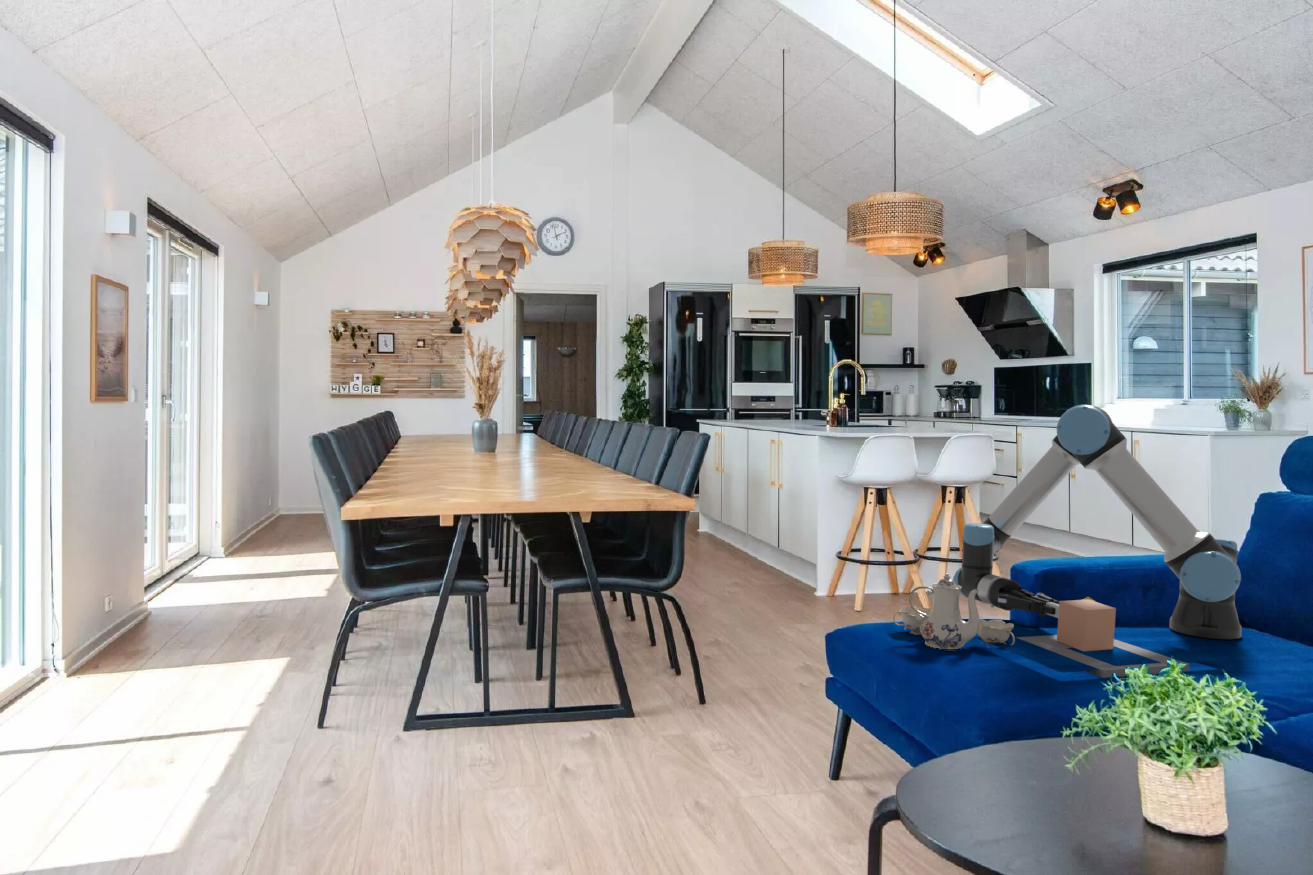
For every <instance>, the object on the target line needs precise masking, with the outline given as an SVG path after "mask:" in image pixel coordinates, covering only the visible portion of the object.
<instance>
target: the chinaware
mask: <svg viewBox="0 0 1313 875" xmlns="http://www.w3.org/2000/svg"><path fill="white" fill-rule="evenodd" d="M931 586H932V587H930V586H925V585H923V586H922V585H920V586H917V587H915V588H913V589H912V590H911V591H910V592H909V596H908V602H909V603H908V604H909V605H910V606H907V607H906V608H902V607H900V608H898V611H897V612H896V613H894V614H893V615H892V616H893V617H892V621H893V623H894V625H896V626H904V628H903V629H904V630H905V631H906V630H908V629H909V630H910V632H909V634H913V635H915V636H916V635H919V636H920V635H921V636H922V638H923V639H924V641H925V642H924V645H926V646H927V647H929V646H930V647H929V648H932V647H933V649H936V648H939V649H938V650H941V649H958V648H961V647H963V646H964V645H965V644H967V643H968V642H969V641H971V640H972V639H973V638H974V637H976V636H977V635H978V637H979V639H980V640H981V641H982V642H984V643H985V644H987V645H988V646H998V645H997V643H998V644H1002V643H1003V644H1005V645H1007V642H1006V641H1008V639H1009V637H1010V635H1011V636H1012V637H1011V638H1012V642H1011V644H1010V646H1013V645H1014V644H1015V642H1016V637H1015V635H1014V633H1013V632H1012V630H1013V629H1014V627H1015V625H1014V623H1011V622H1009V623H1006V622H1004V621H1003V620H1000V619H998V618H997V619H996V618H995V619H990V620H987V619H983V618H980V614H979V613H980V612H979V611H978V607H977V606H978V605H977V602H976V600H975V595H976V593H977V592H978V591H979V590H978V589H974V590H972V591H971V592H970V593H969V596H968V597H967V609H968V621H965V620H963V619H962V614H961V610H960V595H961V594H960V590H961V588H962V587H961V586H960V585H956V584H955V582H954V581H953V579H951V576H950V574H949V573H945V574H944V576H943V578H941V579H939V581H938V582H934V583H931ZM920 589H921V590H922V589H928V590H927V591H926V592H925V593H926V595H927V596H931V595H932V594H933V597H932V598H933V600H932V606H931V607H930V608H922V609H921V608H918V607H916V606H915V605H914V604H913V594H914V593H916V591H918V590H920ZM897 614H898V615H899V616H901V618H902V622H903V624H902V623H901V624H899V623H897V621H895V616H896V615H897ZM994 643H995V644H994Z"/></svg>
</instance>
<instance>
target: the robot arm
mask: <svg viewBox="0 0 1313 875" xmlns="http://www.w3.org/2000/svg"><path fill="white" fill-rule="evenodd" d="M1127 441H1128V439H1127V438H1126V436H1125V435H1124V434H1123V433H1122V432H1121V431H1120V429H1119V428H1118V427H1117V426H1116V425H1115V423H1114V422H1113V421H1112V418H1111V416H1110V415H1109V414H1108V412H1107V411H1105V410H1104V409H1102V408H1100V407H1098V406H1095V405H1092V404H1078V405H1074V406H1072V407H1070V408H1068V409H1067V410H1066V411H1065V412H1063V414H1061V416H1060V417H1059V419H1058V421H1057V425H1056V435H1055V436H1054V437H1053V439H1052V440H1051V443H1052V444H1051V447H1050V448H1049V449H1048V450H1047V452H1045V453H1044V455H1043V456H1042V457H1041V458H1040V459H1039V460H1038V461H1037V463H1036V464H1035V465H1034V466H1033V467H1032V468H1031V469H1030V470H1029V471H1028V473H1027V474H1026V475H1025V476H1024V477H1023V478H1022V480H1021V481H1020V482H1018V483H1017V485H1016V486H1015V488H1014V489H1012V491H1011V492H1009V494H1008V495H1007V496H1006V497H1005V499H1003V501H1001V503H1000V504H998V506H997V508H995V509H994V511H992V513H991V514H990V515H989V516H988V517H987V519H985V520H984V522H983V523H979V522H977V523H976V522H974V523H973V522H971V523H966V524H965V525H964V527H963V535H962V562H961V568H958V569H956V571H955V574H954V576H953V578H952V580H953V581H954V582H955V584H956V585H960V586H961V587H962V588H961V590H960V594H959V595H962V596H964V597H966V598H968V596H969V593H970V592H971V591H972V590H974V589H978V590H979V591H978V592H977V593H976V595H975V601H979V602H980V603H981V602H982V603H984V604H987V605H989V606H990V608H998V609H1001V610H1004V611H1010V612H1011V611H1014V610H1015V609H1016V610H1020V611H1024V612H1027V613H1028V612H1029V613H1031V614H1036V613H1039V614H1038V615H1039V617H1042V618H1043V617H1045V615H1047V616H1050V617H1054V618H1057V619H1058V615H1059V601H1060V600H1057V599H1054V598H1052V597H1050V596H1048V595H1046V594H1044V593H1043V592H1037V593H1036V594H1035V593H1033V592H1030V591H1028V590H1026V589H1022V586H1021V585H1020V583H1018V582H1017V581H1016V580H1012V579H1009V578H1006V577H1003V576H1000V575H996V574H993V569H994V568H993V567H994V565H993V561H994V554H996V553H999V551H1000V550H1001V549H1002V548H1003V546H1004V545H1005V544H1006V542H1007V541H1008V540H1009V539H1010V538H1011V537H1012V536H1013V535H1014V534H1015V533H1016V531H1018V529H1019V528H1020V527H1021V526H1022V525H1023V524H1024V523H1025V522H1026V520H1027V519H1028V518H1030V516H1031V515H1032V514H1033V513H1034V512H1035V511H1036V510H1037V509H1038V508H1039V506H1041V505H1042V503H1043V502H1044V501H1045V500H1046V499H1047V498H1048V497H1049V495H1050V494H1051V493H1052V492H1053V491H1054V490H1055V489H1056V488H1057V487H1059V485H1060V484H1061V482H1062V481H1063V480H1064V479H1065V478H1066V477H1067V476H1068V475H1069V474H1070V473H1071V472H1072V471H1073V469H1075V468H1076V466H1079V465H1081V466H1082V467H1083V468H1084V469H1085V470H1093V471H1095V472H1096V473H1097V475H1098V476H1100V478H1101V479H1102V480H1103V481H1104V482H1105V484H1106V485H1107V486H1108V487H1109V488H1110V489H1111V490H1112V492H1113V493H1114V494H1115V495H1116V496H1117V497H1118V499H1119V500H1120V501H1121V502H1122V504H1123V505H1124V506H1125V507H1126V509H1128V510H1129V511H1130V512H1131V514H1132V515H1133V516H1134V517H1135V519H1136V520H1137V521H1138V522H1139V524H1140V525H1141V526H1143V528H1144V529H1145V530H1146V531H1147V532H1148V533H1149V535H1150V536H1151V537H1152V539H1153V540H1154V541H1156V543H1157V544H1158V546H1160V548H1161V549H1162V550H1163V551H1164V557H1163V558H1164V559H1163V561H1164V563H1165V564H1166V565H1167V566H1168V568H1169V569H1170V570H1171V571H1172V572H1173V574H1175V576H1176V577H1177V578H1178V579H1179V595H1178V599H1177V602H1176V605H1175V606H1174V609H1173V612H1172V615H1171V616H1170V618H1169V626H1168V627H1169V629H1170V630H1172V631H1174V632H1176V633H1180V634H1183V635H1188V636H1193V637H1197V638H1204V639H1210V640H1211V639H1212V640H1237V639H1240V638H1242V632H1243V628H1242V625H1241V623H1240V621H1239V616H1238V612H1237V608H1236V603H1235V600H1236V592H1237V590H1238V589H1239V586H1240V584H1241V580H1242V574H1241V570H1240V567H1239V565H1238V564H1237V563H1238V555H1239V550H1238V543H1237V542H1236V541H1235V540H1231V539H1229V540H1228V539H1221V538H1219V539H1218V538H1215V537H1214V536H1213V535H1212V534H1211V533H1210V532H1209V531H1204V530H1199V529H1197V527H1196V526H1195V525H1194V524H1193V523H1192V522H1191V521H1190V519H1188V517H1187V516H1186V515H1185V513H1183V511H1182V510H1181V509H1180V508H1179V507H1178V506H1177V505H1176V504H1175V502H1173V500H1172V499H1171V498H1170V497H1169V495H1167V493H1166V492H1165V490H1163V489H1162V487H1161V486H1160V485H1159V484H1158V483H1157V482H1156V480H1154V479H1153V477H1152V476H1151V475H1150V474H1149V473H1148V472H1147V471H1146V469H1145V468H1144V467H1143V466H1142V465H1141V464H1140V463H1139V462H1138V460H1137V459H1136V458H1135V456H1134V455H1132V453H1131V452H1130V451H1129V450H1128V449H1127V445H1128V444H1127V443H1128V442H1127Z"/></svg>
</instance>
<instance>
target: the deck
mask: <svg viewBox="0 0 1313 875" xmlns="http://www.w3.org/2000/svg"><path fill="white" fill-rule="evenodd" d="M1016 638H1017V639H1018V640H1021V641H1023V642H1025V643H1029V644H1031V645H1033V646H1037V647H1039V648H1042V649H1044V650H1047V651H1050V652H1053V653H1055V654H1058V655H1060V656H1063V657H1066V658H1068V659H1071V660H1073V661H1077V662H1079V663H1082V664H1084V665H1086V666H1090V667H1092V668H1094V669H1088V670H1087V669H1085V670H1083V671H1084V672H1086V673H1089V674H1091V673H1092V674H1091V675H1094V676H1097V677H1098V678H1102V679H1105V678H1108V679H1109V678H1113V677H1112V673H1116V674H1117V675H1118V676H1119V677H1126V676H1125V667H1130V668H1139V667H1140V666H1141V665H1142V664H1143V663H1141V664H1129V665H1128V664H1127V665H1113V664H1110V663H1108V662H1105V661H1102V660H1100V659H1097V658H1095V657H1092V656H1089V655H1086V654H1084V653H1082V652H1081V653H1080V652H1077V651H1076V650H1072V649H1073V648H1074V647H1071V646H1069V645H1066V644H1064V643H1061V642H1059V641H1057V634H1052V635H1051V634H1049V635H1047V634H1046V635H1033V636H1020V637H1019V636H1016V637H1015V639H1016ZM1113 648H1117V649H1120V650H1122V651H1126V652H1129V653H1132V654H1135V655H1137V656H1140V657H1144V658H1146V659H1149V660H1152V661H1155V663H1152V662H1151V663H1147V664H1148V669H1149V672H1150V673H1152V674H1151V675H1156V674H1157V675H1158V674H1159V675H1160V673H1159V672H1160V671H1161V670H1162V669H1164V668H1167V659H1170V658H1171V657H1169V656H1166V655H1164V654H1160V653H1157V652H1154V651H1152V650H1148V649H1146V648H1142V647H1139V646H1137V645H1134V644H1130V643H1128V642H1124V641H1121V640H1119V639H1115V638H1114V643H1113ZM1074 649H1075V648H1074ZM1176 660H1177V661H1179V662H1180V663H1183V664H1186V666H1185V667H1184V668H1183V673H1184V672H1189V671H1190V669H1189V668H1190V663H1188V662H1185V661H1182V660H1178V659H1176ZM1123 673H1124V674H1123Z"/></svg>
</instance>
